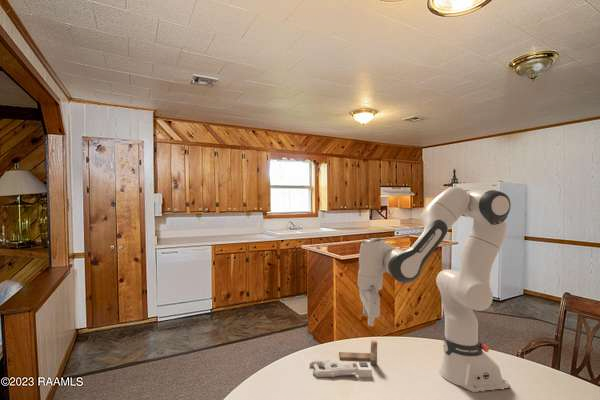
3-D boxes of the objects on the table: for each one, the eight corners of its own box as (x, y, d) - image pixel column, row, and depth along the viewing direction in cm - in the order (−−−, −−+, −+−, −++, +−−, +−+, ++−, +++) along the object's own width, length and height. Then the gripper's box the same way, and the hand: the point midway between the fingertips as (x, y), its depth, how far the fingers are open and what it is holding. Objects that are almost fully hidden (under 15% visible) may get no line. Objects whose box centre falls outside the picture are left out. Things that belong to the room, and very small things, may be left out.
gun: (353, 355, 118) (359, 370, 108) (354, 363, 118) (359, 379, 108) (309, 357, 117) (310, 372, 107) (309, 365, 117) (310, 381, 107)
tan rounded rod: (376, 362, 119) (376, 340, 119) (377, 366, 116) (377, 343, 116) (369, 362, 119) (370, 340, 119) (371, 365, 116) (371, 343, 116)
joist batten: (371, 355, 124) (371, 353, 124) (373, 360, 120) (373, 358, 120) (338, 354, 125) (338, 352, 125) (339, 359, 121) (339, 357, 121)
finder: (368, 370, 114) (368, 361, 114) (371, 377, 109) (371, 368, 109) (355, 369, 114) (356, 361, 114) (358, 377, 109) (358, 368, 109)
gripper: (385, 291, 96) (383, 333, 96) (372, 275, 116) (371, 310, 116) (366, 290, 96) (364, 331, 96) (357, 274, 117) (355, 309, 116)
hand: (368, 319), depth 106 cm, fingers open, 8 cm apart
